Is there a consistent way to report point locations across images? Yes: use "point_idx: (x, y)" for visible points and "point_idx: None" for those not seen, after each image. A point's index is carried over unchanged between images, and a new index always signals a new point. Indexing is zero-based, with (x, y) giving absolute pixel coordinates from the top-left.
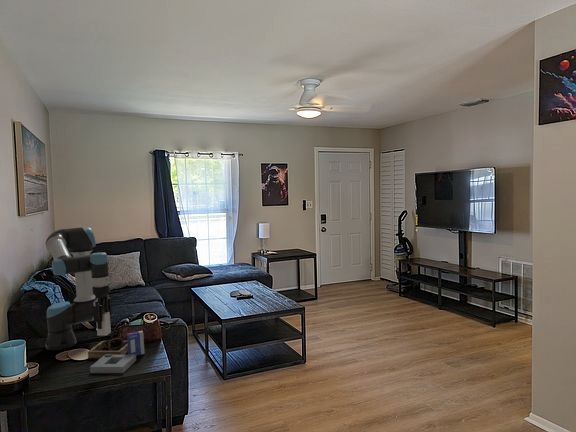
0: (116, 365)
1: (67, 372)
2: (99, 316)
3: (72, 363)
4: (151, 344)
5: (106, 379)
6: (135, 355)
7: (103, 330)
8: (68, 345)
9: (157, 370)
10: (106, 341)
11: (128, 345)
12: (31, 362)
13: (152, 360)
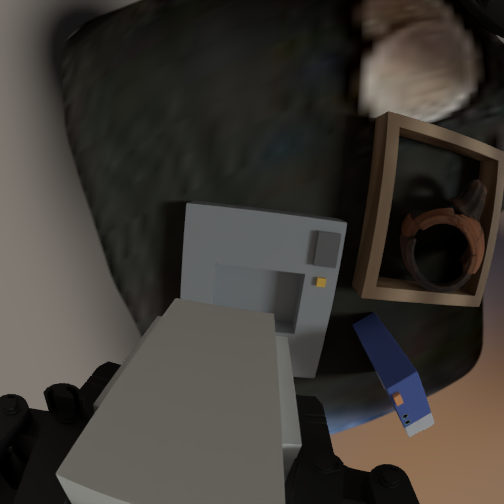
0: None
1: (215, 83)
2: (11, 497)
3: (321, 62)
4: (459, 359)
5: (131, 298)
6: (309, 376)
7: None
8: (477, 13)
9: None
10: (473, 191)
11: (371, 351)
12: None
13: None
